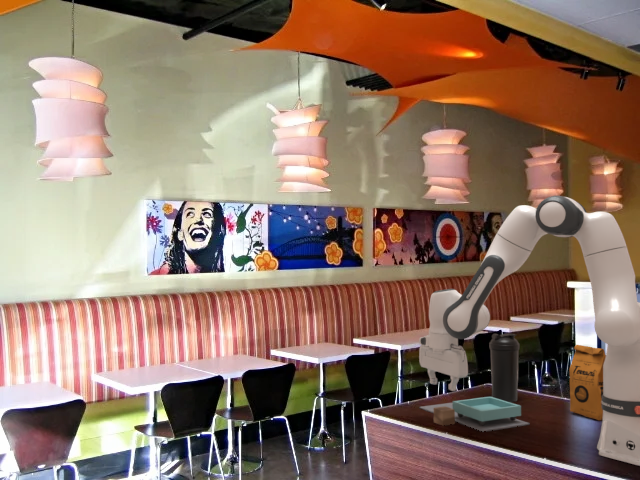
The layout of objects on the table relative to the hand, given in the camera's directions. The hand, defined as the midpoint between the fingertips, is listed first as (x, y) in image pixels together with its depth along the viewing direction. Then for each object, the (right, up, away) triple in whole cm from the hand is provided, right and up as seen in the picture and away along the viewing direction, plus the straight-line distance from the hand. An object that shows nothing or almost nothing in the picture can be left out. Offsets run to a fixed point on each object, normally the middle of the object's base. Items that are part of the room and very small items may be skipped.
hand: (442, 387), depth 203 cm
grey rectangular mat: (+11, -11, +8) cm, 17 cm away
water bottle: (+28, -11, +31) cm, 43 cm away
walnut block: (0, -11, 0) cm, 11 cm away
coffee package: (+49, -11, +8) cm, 51 cm away
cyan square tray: (+14, -11, +2) cm, 18 cm away
